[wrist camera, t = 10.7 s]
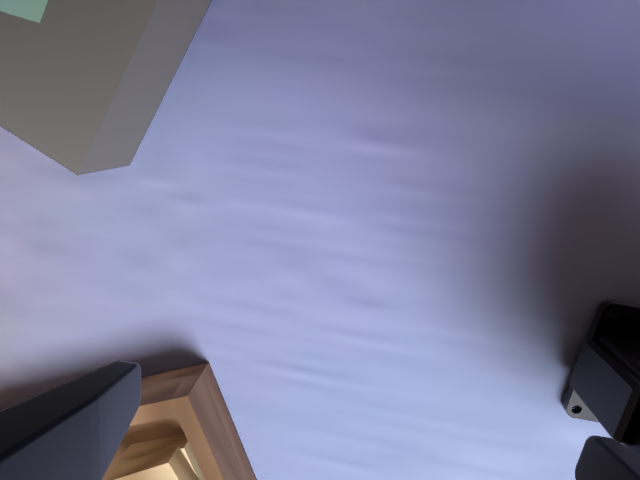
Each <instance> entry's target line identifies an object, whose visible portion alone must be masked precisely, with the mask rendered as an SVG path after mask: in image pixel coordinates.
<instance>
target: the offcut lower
mask: <svg viewBox="0 0 640 480" xmlns="http://www.w3.org/2000/svg"><path fill="white" fill-rule="evenodd" d="M175 446H179V448H180V449H181V451H182V452H183V454H184V456H185V457H186V459H187V461H188V462H189V464H190V466H191V467H192V469H193V471H194V472H195V474H196V476H197V477H198V479H199V480H205V479H204V476H203V474H202V472H201V470H200V467H199V465H198V463H197V461H196V458H195V456H194V454H193V452H192V449H191V447H190V445H189V443H188V440H187V438H186V436H185V434H181V435H176V436H171V437H166V438H161V439H155V440H150V441H145V442H140V443H135V444H131V445H130V446H129V447H128V449H127V450H126V452H125V453H124V454H123V456H122V457H121V459H120V460H119V461H120V463H125V462H128V461H131V460H134V459H137V458H140V457H143V456H147V455H150V454H153V453H156V452H159V451H162V450H165V449H168V448H172V447H175Z"/></svg>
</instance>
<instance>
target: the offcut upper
mask: <svg viewBox="0 0 640 480" xmlns="http://www.w3.org/2000/svg"><path fill="white" fill-rule="evenodd" d="M107 480H199V479H198V477H197V476H196V474H195V472H194V471H193V469H192V467H191V466H190V464H189V462H188V461H187V459H186V457H185V456H184V454H183V452H182V451H181V449H180V448H179V446H175V447H172V448H168V449H165V450H162V451H159V452H156V453H153V454H150V455H147V456H143V457H140V458H137V459H134V460H131V461H128V462H125V463H121V464H118V465H117V466H116V468H115V469H114V471H113V472H112V473H111V475H110V476H109V478H108V479H107Z"/></svg>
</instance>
